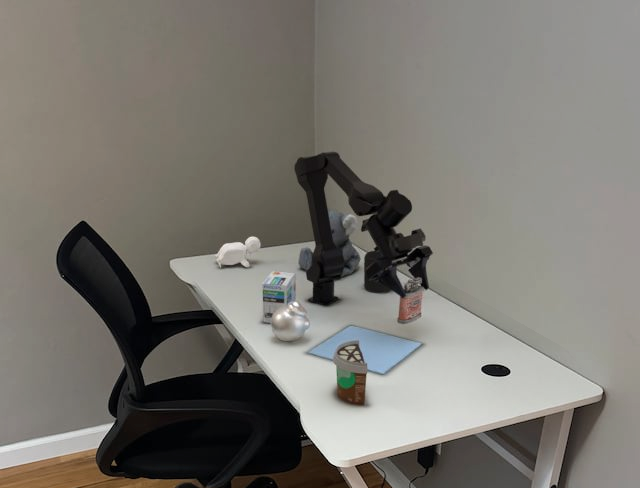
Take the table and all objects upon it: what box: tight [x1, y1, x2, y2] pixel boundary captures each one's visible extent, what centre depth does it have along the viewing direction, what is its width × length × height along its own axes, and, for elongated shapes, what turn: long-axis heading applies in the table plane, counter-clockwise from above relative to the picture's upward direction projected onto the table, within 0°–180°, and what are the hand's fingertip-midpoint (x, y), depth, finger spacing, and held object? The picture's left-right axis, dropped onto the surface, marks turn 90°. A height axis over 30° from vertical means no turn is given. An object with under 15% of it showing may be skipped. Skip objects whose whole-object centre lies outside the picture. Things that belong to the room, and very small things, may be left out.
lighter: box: [396, 277, 425, 325], centre depth 168 cm, size 8×3×10 cm, turn 138°
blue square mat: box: [308, 325, 422, 375], centre depth 168 cm, size 20×20×1 cm
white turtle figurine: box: [214, 236, 262, 269], centre depth 224 cm, size 9×8×15 cm
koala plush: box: [298, 206, 361, 278], centre depth 217 cm, size 17×18×20 cm
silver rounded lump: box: [270, 300, 311, 342], centre depth 170 cm, size 9×10×10 cm
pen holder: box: [363, 250, 392, 294], centre depth 204 cm, size 9×9×10 cm
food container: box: [332, 340, 368, 406], centre depth 145 cm, size 12×6×10 cm, turn 5°
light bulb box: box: [261, 270, 297, 324], centre depth 183 cm, size 11×7×11 cm, turn 168°
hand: (416, 293), depth 166 cm, fingers closed on lighter, 8 cm apart
